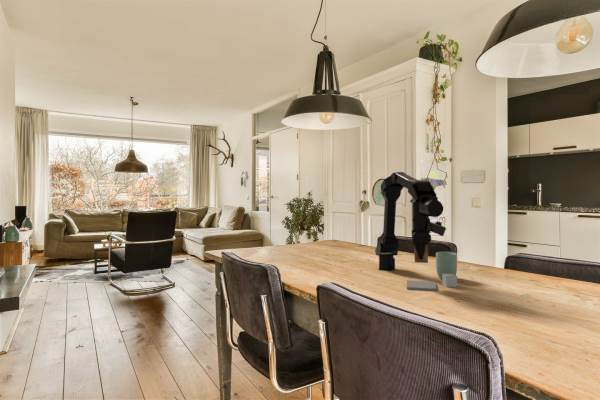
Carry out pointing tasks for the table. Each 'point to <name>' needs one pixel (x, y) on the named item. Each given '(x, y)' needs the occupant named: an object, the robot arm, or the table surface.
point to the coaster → (421, 285)
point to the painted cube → (449, 280)
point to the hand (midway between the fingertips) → (420, 257)
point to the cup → (446, 263)
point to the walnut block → (425, 257)
